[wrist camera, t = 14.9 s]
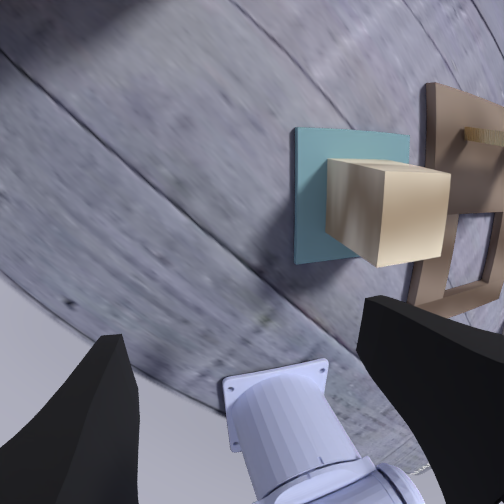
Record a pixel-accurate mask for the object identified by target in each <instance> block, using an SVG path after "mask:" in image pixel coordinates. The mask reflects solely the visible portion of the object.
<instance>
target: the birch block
mask: <svg viewBox="0 0 504 504" xmlns="http://www.w3.org/2000/svg"><path fill="white" fill-rule="evenodd" d="M450 181H451V174H449V173H445V172H441V171H437V170H433V169H429V168H424V167H420V166H415V165H411V164H406V163H401V162H396V161H391V160H378V159H333V158H327V201H326V227H325V232H326V233H327V234H329V235H330V236H331V237H333V238H334V239H336V240H337V241H339V242H340V243H342V244H343V245H345V246H346V247H348V248H349V249H350V250H352V251H353V252H355V253H356V254H358V255H359V256H361V257H362V258H363V259H365V260H366V261H368V262H369V263H371V264H372V265H373V266H375V267H376V268H378V267H384V266H390V265H396V264H402V263H407V262H413V261H419V260H424V259H430V258H435V257H440V256H441V251H442V245H443V239H444V232H445V225H446V218H447V210H448V201H449V192H450Z"/></svg>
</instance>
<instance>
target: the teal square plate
mask: <svg viewBox="0 0 504 504" xmlns="http://www.w3.org/2000/svg"><path fill="white" fill-rule="evenodd" d="M409 143H410V135H402V134H393V133H383V132H372V131H360V130H347V129H329V128H304V127H295V230H294V263H295V264H296V265H298V264H306V263H313V262H321V261H329V260H336V259H344V258H351V257H359V255H358V254H356V253H355V252H353V251H352V250H350V249H349V248H348V247H346V246H345V245H343V244H342V243H340V242H339V241H337V240H336V239H334V238H333V237H331V236H330V235H329V234H327V233H326V232H325V227H326V201H327V158H333V159H378V160H391V161H396V162H401V163H406V164H409Z"/></svg>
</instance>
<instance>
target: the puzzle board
mask: <svg viewBox="0 0 504 504" xmlns="http://www.w3.org/2000/svg"><path fill="white" fill-rule="evenodd" d="M426 101H427V132H426V160H425V168H429V169H433V170H437V171H441V172H445V173H449V174H451V181H450V192H449V201H448V210H447V218H446V225H445V232H444V239H443V245H442V251H441V256H440V257H435V258H430V259H424V260H419V261H414V267H413V272H412V278H411V283H410V288H409V293H408V298H407V303H408V304H410V305H413V306H416V307H418V308H421V309H423V310H426V311H429V312H431V313H434V314H437V315H439V316H442V317H445V318H450V317H453V316H456V315H458V314H461V313H464V312H466V311H469V310H472V309H474V308H477V307H479V306H482V305H484V304H487V303H489V302H492V301H494V300H497V299H499V296H500V292H501V289H502V285H503V282H504V147H501V146H495V145H490V144H484V143H478V142H472V141H467V140H464V132H465V127H473V128H481V129H489V130H496V131H503V132H504V107H503V106H500V105H498V104H495V103H493V102H490V101H488V100H485V99H483V98H480V97H477V96H475V95H472V94H469V93H466V92H464V91H461V90H458V89H455V88H452V87H449V86H446V85H442V84H439V83H436V82H434V83H426ZM488 212H495V216H494V222H493V228H492V234H491V239H490V244H489V249H488V254H487V258H486V263H485V267H484V271H483V275H482V279H481V280H479V281H476V282H472V283H469V284H466V285H462V286H459V287H455V288H452V289H448V290H445V287H446V283H447V278H448V274H449V269H450V264H451V259H452V254H453V249H454V243H455V237H456V231H457V225H458V218H459V214H469V213H488Z"/></svg>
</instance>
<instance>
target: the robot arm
mask: <svg viewBox="0 0 504 504" xmlns="http://www.w3.org/2000/svg"><path fill="white" fill-rule="evenodd" d="M356 351H357V353H358V355H359V357H360V359H361V361H362V363H363V364H364V366H365V368H366V370H367V371H368V373H369V375H370V376H371V378H372V379H373V380H374V382H375V383H376V384H377V386H378V387H379V388H380V389H381V391H382V392H383V393H384V395H385V396H386V397H387V399H388V400H389V401H390V402H391V404H392V405H393V406H394V408H395V409H396V410H397V412H398V413H399V414H400V415H401V417H402V418H403V419H404V421H405V422H406V423H407V425H408V426H409V428H410V429H411V431H412V432H413V434H414V436H415V438H416V439H417V441H418V443H419V445H420V446H421V448H422V450H423V452H424V454H425V456H426V458H427V460H428V462H429V464H430V466H431V468H432V469H433V472H434V474H435V476H436V479H437V481H438V483H439V486H440V488H441V491H442V493H443V496H444V499H445V502H446V504H499V503H500V502H501V501H502V502H503V503H504V335H502V334H497V333H493V332H489V331H485V330H481V329H478V328H474V327H471V326H468V325H465V324H462V323H459V322H456V321H453V320H450V319H447V318H445V317H442V316H439V315H437V314H434V313H431V312H429V311H426V310H423V309H421V308H418V307H416V306H413V305H410V304H408V303H405V302H402V301H399V300H396V299H393V298H390V297H387V296H383V295H379V296H374V297H369V298H365V303H364V309H363V315H362V321H361V327H360V332H359V338H358V343H357V348H356ZM328 365H329V363H328V361H327V360H326V359H325V358H321V359H317V360H312V361H308V362H304V363H299V364H294V365H290V366H285V367H280V368H275V369H270V370H264V371H259V372H253V373H248V374H242V375H236V376H230V377H226V378H225V379H224V380H223V382H222V384H223V393H224V402H225V410H226V418H227V426H228V434H229V442H230V448H231V451H232V452H241V451H242V453H243V456H244V459H245V463H246V466H247V469H248V472H249V476H250V479H251V482H252V485H253V488H254V491H255V494H256V497H257V500H258V501H256V502H253V503H252V504H425V502H424V500H423V498H422V496H421V494H420V492H419V490H418V489H417V487H416V486H415V484H414V483H413V482H412V481H411V479H410V478H409V477H408V475H407V474H406V473H405V472H404V471H403V470H401V469H400V468H399V467H397V466H393V465H389V464H387V463H381V464H379V465H377V466H375V465H374V464H373V462H372V461H371V459H370V458H369V456H365V457H363V458H362V457H361V456H360V454H359V452H358V451H357V449H356V448H355V446H354V444H353V443H352V441H351V439H350V438H349V436H348V435H347V433H346V431H345V430H344V428H343V426H342V425H341V423H340V422H339V420H338V418H337V417H336V415H335V413H334V412H333V410H332V408H331V407H330V405H329V403H328V402H327V400H326V399H325V397H324V390H325V384H326V378H327V372H328ZM322 368H323V369H322ZM320 369H322V370H320ZM229 387H232V388H230V389H228V388H229ZM139 424H140V415H139V397H138V386H137V384H136V380H135V377H134V374H133V371H132V368H131V364H130V361H129V358H128V354H127V351H126V347H125V344H124V340H123V336H122V334H116V335H104V336H101V337H100V338H99V339H98V340H97V341H96V343H95V344H94V345H93V346H92V348H91V349H90V350H89V352H88V353H87V354H86V356H85V357H84V358H83V360H82V361H81V362H80V363H79V365H78V366H77V367H76V368H75V370H74V371H73V372H72V374H71V375H70V376H69V377H68V379H67V380H66V381H65V383H64V384H63V385H62V386H61V387H60V388H59V390H58V391H57V392H56V393H55V394H54V395H53V397H52V398H51V399H50V400H49V401H48V402H47V403H46V405H45V406H44V407H43V408H42V409H41V410H40V411H39V412H38V414H37V415H35V417H34V418H33V419H32V420H31V421H30V422H29V423H28V424H27V425H26V426H25V427H23V428H22V429H21V430H20V431H19V432H18V433H17V434H16V435H15V436H14V437H13V438H12V439H10V440H9V441H8V442H7V443H6V444H4V445H3V446H2V447H1V448H0V504H139V503H138V490H137V472H138V470H137V469H138V444H139Z"/></svg>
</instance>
